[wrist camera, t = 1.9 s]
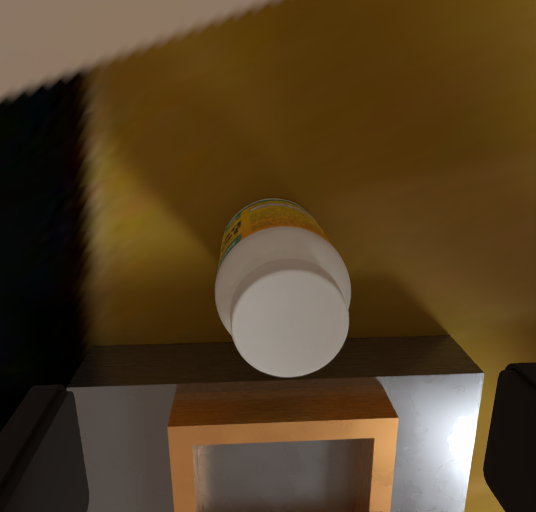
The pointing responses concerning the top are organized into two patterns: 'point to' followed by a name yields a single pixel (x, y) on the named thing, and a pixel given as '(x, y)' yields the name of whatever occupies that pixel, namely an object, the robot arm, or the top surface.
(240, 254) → the supplement bottle
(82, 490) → the robot arm
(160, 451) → the gray brown rimmed box
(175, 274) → the top surface
